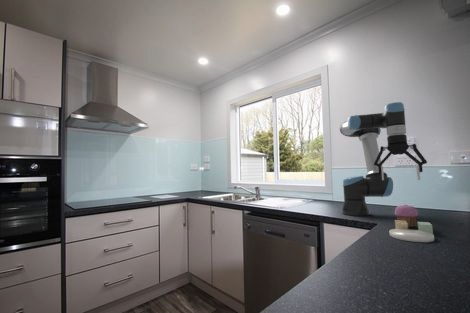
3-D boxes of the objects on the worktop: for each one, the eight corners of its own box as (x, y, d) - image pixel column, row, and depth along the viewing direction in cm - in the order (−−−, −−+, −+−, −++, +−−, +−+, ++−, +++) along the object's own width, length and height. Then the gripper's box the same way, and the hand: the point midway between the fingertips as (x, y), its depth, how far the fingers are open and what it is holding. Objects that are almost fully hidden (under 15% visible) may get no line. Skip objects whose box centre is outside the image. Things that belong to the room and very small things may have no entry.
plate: (388, 231, 98) (388, 227, 98) (430, 234, 91) (429, 230, 91) (390, 239, 86) (390, 235, 86) (438, 244, 79) (438, 239, 79)
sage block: (418, 230, 98) (417, 221, 98) (430, 231, 95) (429, 222, 96) (420, 234, 92) (419, 224, 93) (433, 235, 90) (432, 225, 91)
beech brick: (395, 229, 102) (394, 220, 102) (406, 229, 100) (405, 220, 100) (396, 232, 97) (396, 222, 97) (408, 233, 95) (407, 223, 95)
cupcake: (424, 227, 102) (422, 205, 103) (410, 229, 100) (408, 206, 100) (404, 223, 111) (402, 203, 111) (391, 225, 108) (389, 204, 109)
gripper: (366, 137, 111) (369, 180, 109) (432, 130, 97) (437, 179, 96) (366, 138, 117) (369, 179, 115) (429, 133, 103) (433, 179, 102)
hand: (400, 179), depth 105 cm, fingers open, 13 cm apart
